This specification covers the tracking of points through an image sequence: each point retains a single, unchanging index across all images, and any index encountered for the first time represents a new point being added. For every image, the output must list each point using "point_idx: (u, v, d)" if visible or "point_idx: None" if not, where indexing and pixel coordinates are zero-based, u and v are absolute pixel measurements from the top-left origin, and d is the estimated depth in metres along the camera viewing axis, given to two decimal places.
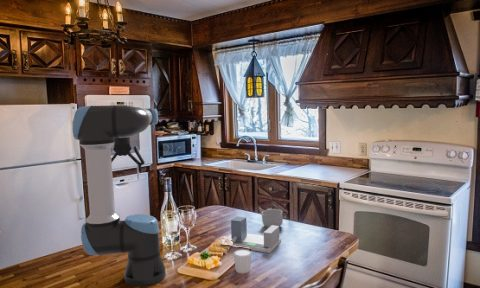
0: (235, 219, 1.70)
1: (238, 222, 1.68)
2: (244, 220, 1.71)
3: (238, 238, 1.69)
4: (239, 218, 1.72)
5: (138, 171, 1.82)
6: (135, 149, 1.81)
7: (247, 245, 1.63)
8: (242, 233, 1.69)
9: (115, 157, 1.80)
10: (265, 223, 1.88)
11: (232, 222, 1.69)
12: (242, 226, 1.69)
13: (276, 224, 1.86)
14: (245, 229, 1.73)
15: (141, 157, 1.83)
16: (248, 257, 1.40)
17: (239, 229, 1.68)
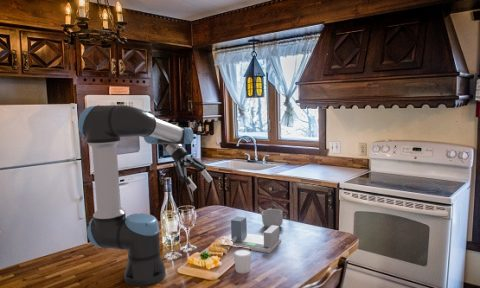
0: (235, 219, 1.70)
1: (238, 222, 1.68)
2: (244, 220, 1.71)
3: (238, 238, 1.69)
4: (239, 218, 1.72)
5: (207, 173, 1.84)
6: (193, 156, 1.85)
7: (247, 245, 1.63)
8: (242, 233, 1.69)
9: None
10: (265, 223, 1.88)
11: (232, 222, 1.69)
12: (242, 226, 1.69)
13: (276, 224, 1.86)
14: (245, 229, 1.73)
15: None
16: (248, 257, 1.40)
17: (239, 229, 1.68)
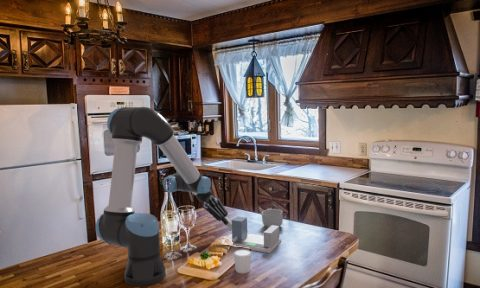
0: (236, 219, 1.70)
1: (238, 222, 1.68)
2: (245, 220, 1.71)
3: (239, 238, 1.69)
4: (240, 218, 1.71)
5: None
6: (219, 199, 1.81)
7: (247, 245, 1.63)
8: (243, 233, 1.69)
9: None
10: (265, 223, 1.88)
11: (233, 222, 1.69)
12: (243, 226, 1.69)
13: (276, 224, 1.86)
14: (246, 229, 1.72)
15: None
16: (248, 257, 1.40)
17: (240, 229, 1.68)
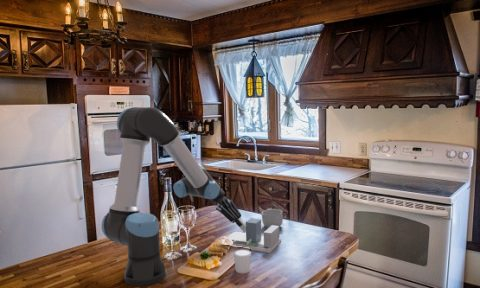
0: (250, 221, 1.67)
1: (253, 224, 1.65)
2: (259, 222, 1.68)
3: (253, 240, 1.66)
4: (254, 220, 1.68)
5: (243, 222, 1.72)
6: (231, 201, 1.78)
7: (247, 245, 1.63)
8: (257, 235, 1.66)
9: None
10: (265, 223, 1.88)
11: (247, 224, 1.66)
12: (257, 228, 1.66)
13: (276, 224, 1.86)
14: (260, 231, 1.69)
15: None
16: (248, 257, 1.40)
17: (254, 231, 1.65)
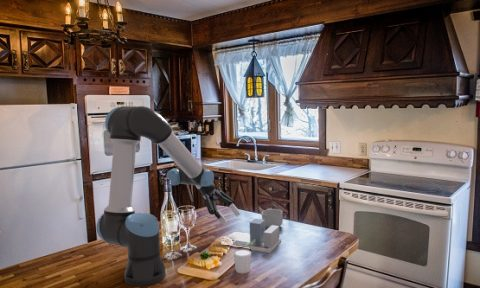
0: (254, 221, 1.66)
1: (257, 225, 1.64)
2: (263, 222, 1.67)
3: (257, 241, 1.65)
4: (258, 220, 1.67)
5: (235, 207, 1.81)
6: (220, 190, 1.83)
7: (247, 245, 1.63)
8: (261, 236, 1.65)
9: None
10: (265, 223, 1.88)
11: (251, 225, 1.65)
12: (261, 229, 1.65)
13: (276, 224, 1.86)
14: None
15: None
16: (248, 257, 1.40)
17: (258, 232, 1.64)
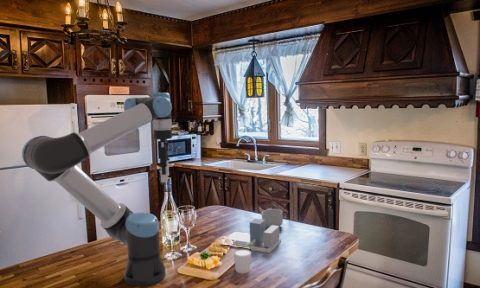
0: (254, 221, 1.66)
1: (257, 225, 1.64)
2: (263, 222, 1.67)
3: (257, 241, 1.65)
4: (258, 220, 1.67)
5: (168, 166, 1.65)
6: (166, 142, 1.63)
7: (247, 245, 1.63)
8: (261, 236, 1.65)
9: None
10: (265, 223, 1.88)
11: (251, 225, 1.65)
12: (261, 229, 1.65)
13: (276, 224, 1.86)
14: None
15: None
16: (248, 257, 1.40)
17: (258, 232, 1.64)
